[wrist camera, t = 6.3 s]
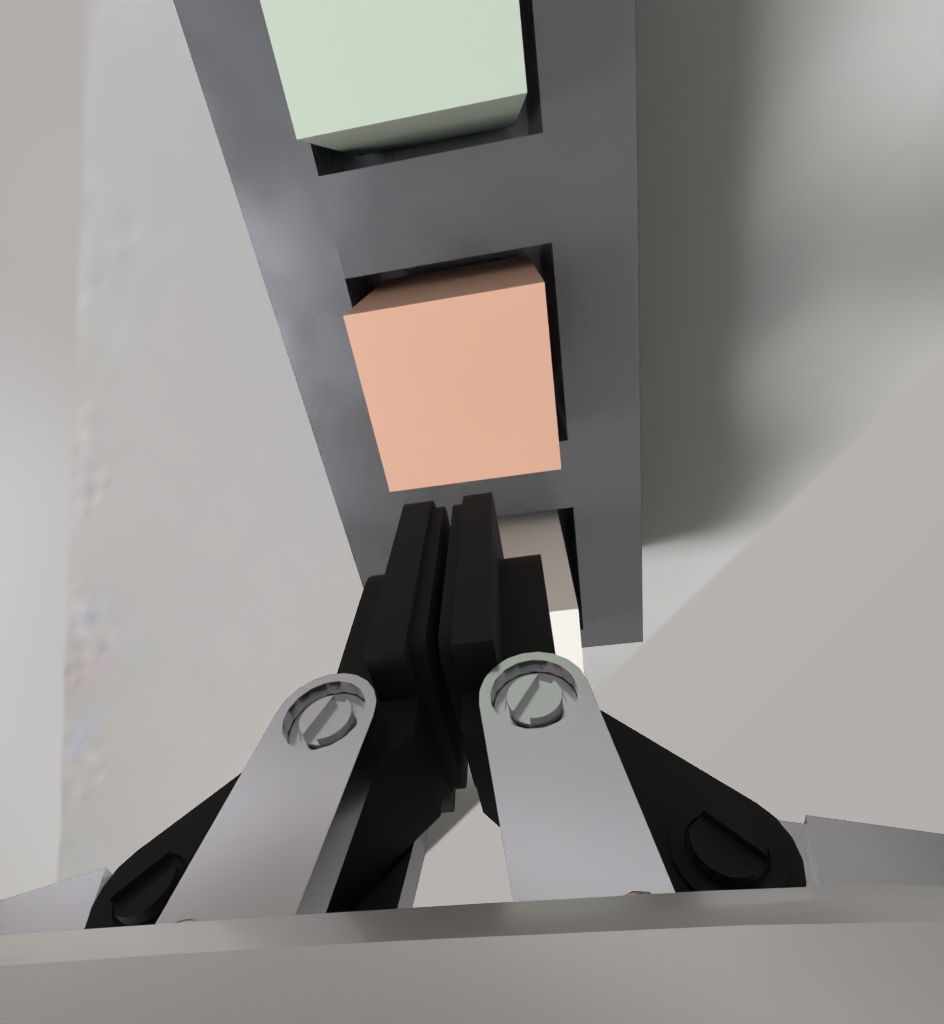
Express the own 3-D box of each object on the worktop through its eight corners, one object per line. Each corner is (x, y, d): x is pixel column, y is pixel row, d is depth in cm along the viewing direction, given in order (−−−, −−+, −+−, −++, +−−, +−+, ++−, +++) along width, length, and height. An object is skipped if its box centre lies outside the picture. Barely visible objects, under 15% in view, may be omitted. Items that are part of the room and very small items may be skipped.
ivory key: (564, 599, 22) (588, 724, 17) (451, 612, 23) (441, 737, 17) (555, 500, 20) (578, 608, 15) (429, 516, 20) (409, 626, 15)
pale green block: (514, 124, 16) (527, 92, 11) (358, 156, 16) (297, 139, 11) (491, -101, 14) (492, -285, 8) (310, -58, 14) (205, -205, 9)
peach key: (542, 395, 20) (561, 469, 14) (415, 414, 20) (389, 491, 15) (527, 255, 17) (544, 281, 12) (385, 279, 18) (343, 315, 13)
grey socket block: (612, 553, 26) (642, 641, 21) (407, 577, 27) (389, 666, 22) (582, -138, 15) (631, -311, 10) (237, -54, 16) (117, -170, 11)
